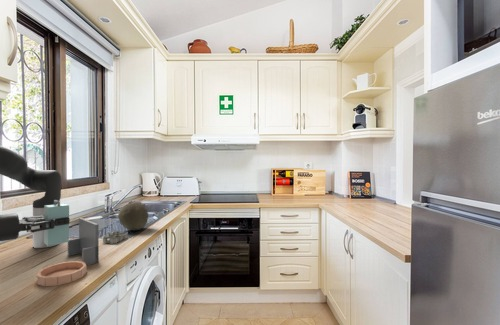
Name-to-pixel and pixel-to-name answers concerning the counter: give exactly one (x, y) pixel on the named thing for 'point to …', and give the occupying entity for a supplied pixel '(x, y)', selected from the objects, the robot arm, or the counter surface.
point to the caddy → (58, 232)
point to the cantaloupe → (133, 216)
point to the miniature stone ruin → (114, 237)
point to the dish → (61, 273)
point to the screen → (86, 242)
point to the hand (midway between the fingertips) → (66, 219)
